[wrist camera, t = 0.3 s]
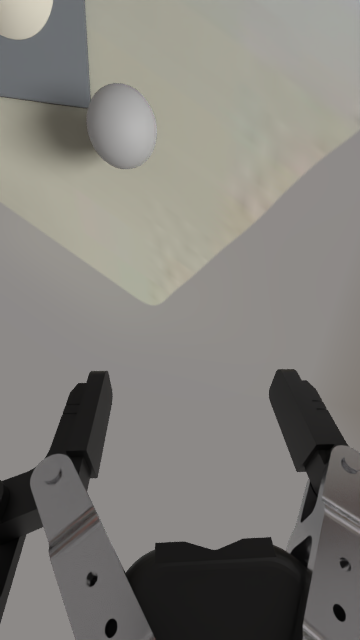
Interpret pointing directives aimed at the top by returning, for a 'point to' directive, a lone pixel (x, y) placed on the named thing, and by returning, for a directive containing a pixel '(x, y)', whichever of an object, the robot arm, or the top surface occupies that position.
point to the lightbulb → (121, 126)
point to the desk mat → (44, 51)
